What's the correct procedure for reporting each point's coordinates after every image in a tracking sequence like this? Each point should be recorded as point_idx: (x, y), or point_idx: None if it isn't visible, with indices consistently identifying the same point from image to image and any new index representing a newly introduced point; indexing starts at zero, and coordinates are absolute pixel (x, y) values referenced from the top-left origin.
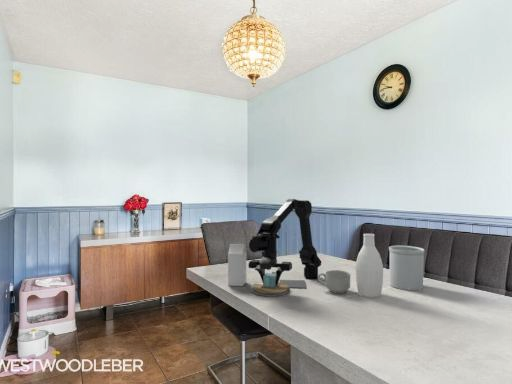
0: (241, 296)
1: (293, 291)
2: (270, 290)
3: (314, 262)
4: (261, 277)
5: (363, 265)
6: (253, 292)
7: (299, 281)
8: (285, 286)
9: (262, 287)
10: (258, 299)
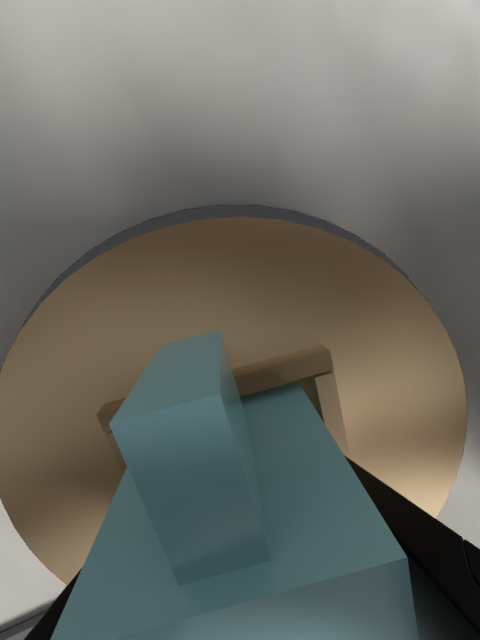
0: (450, 46)
1: (10, 522)
2: (145, 323)
3: None
4: (438, 531)
5: None
6: (365, 244)
7: None
8: (80, 555)
9: (299, 356)
10: (184, 44)
